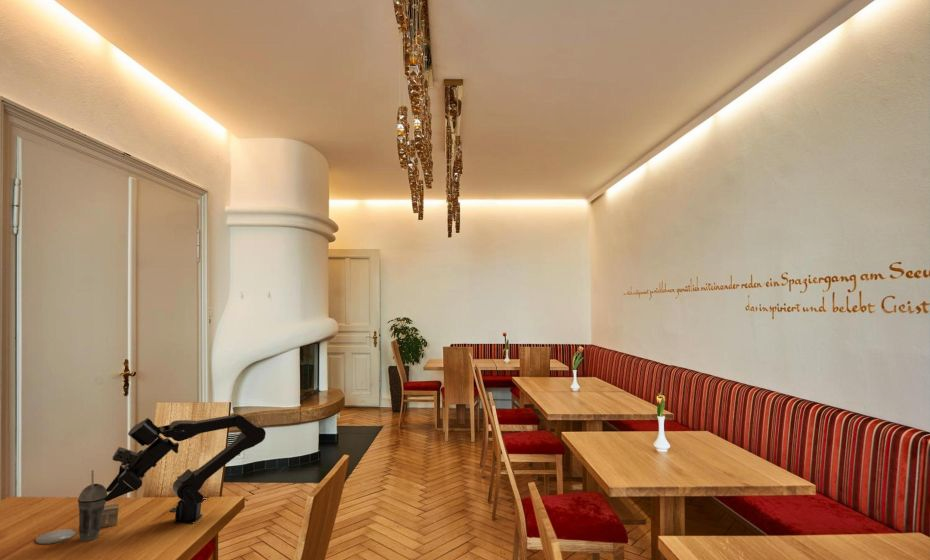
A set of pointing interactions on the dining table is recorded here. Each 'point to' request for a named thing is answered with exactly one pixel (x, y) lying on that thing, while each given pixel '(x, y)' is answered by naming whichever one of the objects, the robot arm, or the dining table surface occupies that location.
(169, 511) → the smartphone
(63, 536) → the grey coaster
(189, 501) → the robot arm
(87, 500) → the beverage cup
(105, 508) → the letter block
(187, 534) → the dining table surface
